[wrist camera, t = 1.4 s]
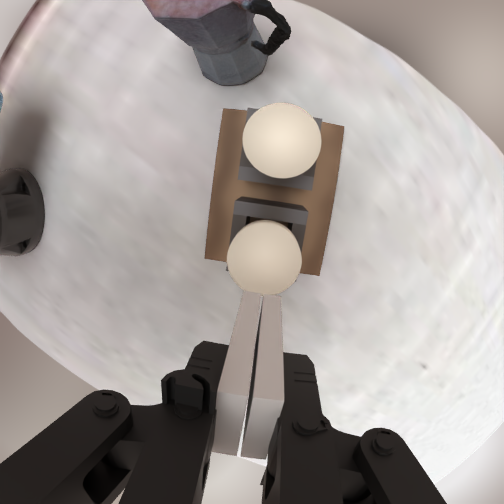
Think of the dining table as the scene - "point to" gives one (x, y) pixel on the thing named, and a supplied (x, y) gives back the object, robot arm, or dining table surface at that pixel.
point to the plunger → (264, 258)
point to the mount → (272, 193)
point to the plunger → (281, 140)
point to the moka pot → (223, 34)
